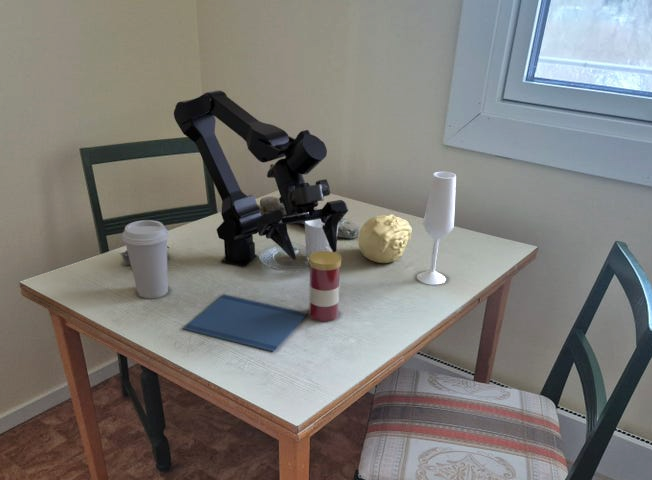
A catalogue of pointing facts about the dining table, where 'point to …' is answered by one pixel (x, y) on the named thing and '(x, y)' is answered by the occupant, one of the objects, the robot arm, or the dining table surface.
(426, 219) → the champagne flute
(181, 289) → the dining table surface
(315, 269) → the jam jar
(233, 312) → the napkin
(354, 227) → the elongated rock
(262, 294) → the dining table surface
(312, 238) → the white cup
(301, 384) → the dining table surface
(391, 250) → the sculpture
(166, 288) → the coffee cup
